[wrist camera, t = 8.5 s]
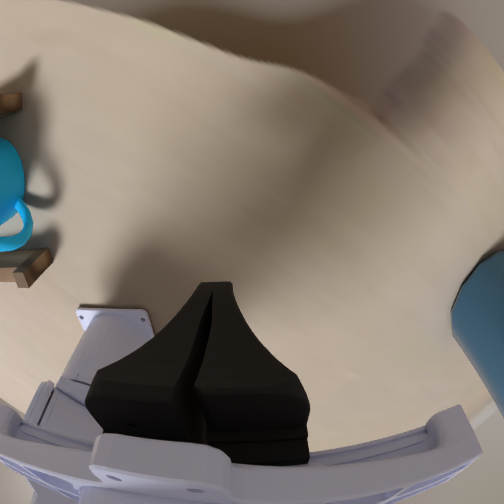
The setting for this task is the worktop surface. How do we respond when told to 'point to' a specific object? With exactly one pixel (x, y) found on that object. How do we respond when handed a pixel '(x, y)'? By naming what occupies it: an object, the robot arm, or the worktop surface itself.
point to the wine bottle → (483, 323)
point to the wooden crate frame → (21, 261)
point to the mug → (13, 196)
